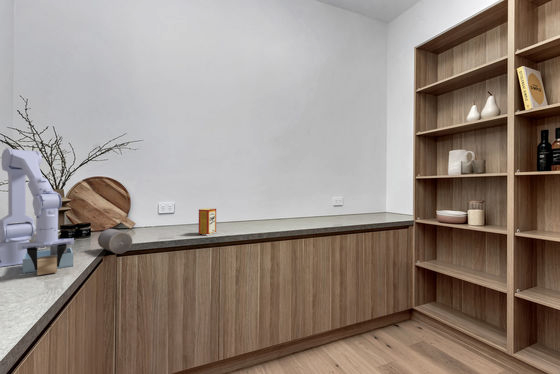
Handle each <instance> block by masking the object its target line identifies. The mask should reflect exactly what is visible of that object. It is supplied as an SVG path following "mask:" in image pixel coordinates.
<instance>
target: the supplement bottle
mask: <svg viewBox="0 0 560 374" xmlns="http://www.w3.org/2000/svg"><path fill="white" fill-rule="evenodd" d="M34 241H36V226H35V234H34V235H33V236H32V237H31V239H29V242H34ZM40 246H43V245H40ZM46 248H47V247H41V248H37V251H44V250H46Z"/></svg>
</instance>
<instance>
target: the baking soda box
mask: <svg viewBox="0 0 560 374" xmlns="http://www.w3.org/2000/svg"><path fill="white" fill-rule="evenodd" d="M213 232H216V233H217V208H209V207H206V208H204V207H203V208H199V209H198V235H199V234H210V233H213Z"/></svg>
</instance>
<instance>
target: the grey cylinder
mask: <svg viewBox="0 0 560 374" xmlns="http://www.w3.org/2000/svg"><path fill="white" fill-rule="evenodd" d="M66 246H67V247H66V249H65V251H64V253H63V254H67V248H68V245H66ZM49 250H50V256H51V255H57V246H50V248H49Z"/></svg>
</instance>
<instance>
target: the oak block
mask: <svg viewBox="0 0 560 374" xmlns="http://www.w3.org/2000/svg"><path fill="white" fill-rule="evenodd" d="M36 273H37V276H42V275H47V274H55V273H58V269H57V255H51V256H43V257H38V260H37V272H36Z"/></svg>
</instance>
